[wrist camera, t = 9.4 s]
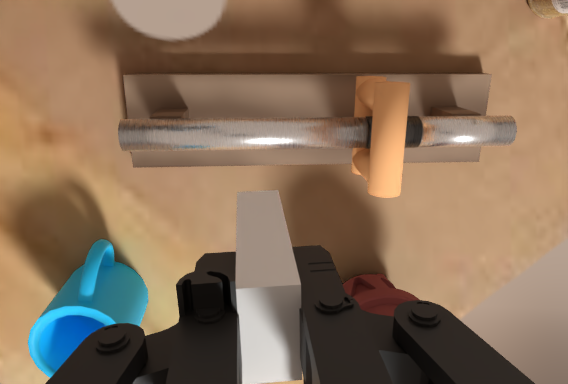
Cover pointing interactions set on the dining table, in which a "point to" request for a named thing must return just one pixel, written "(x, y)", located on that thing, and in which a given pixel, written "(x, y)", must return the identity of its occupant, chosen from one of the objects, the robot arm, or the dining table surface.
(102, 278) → the mug
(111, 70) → the dining table surface
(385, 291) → the mechanical component
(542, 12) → the sprinkles bottle
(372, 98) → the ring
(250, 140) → the rod
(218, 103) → the stand
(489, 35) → the dining table surface
